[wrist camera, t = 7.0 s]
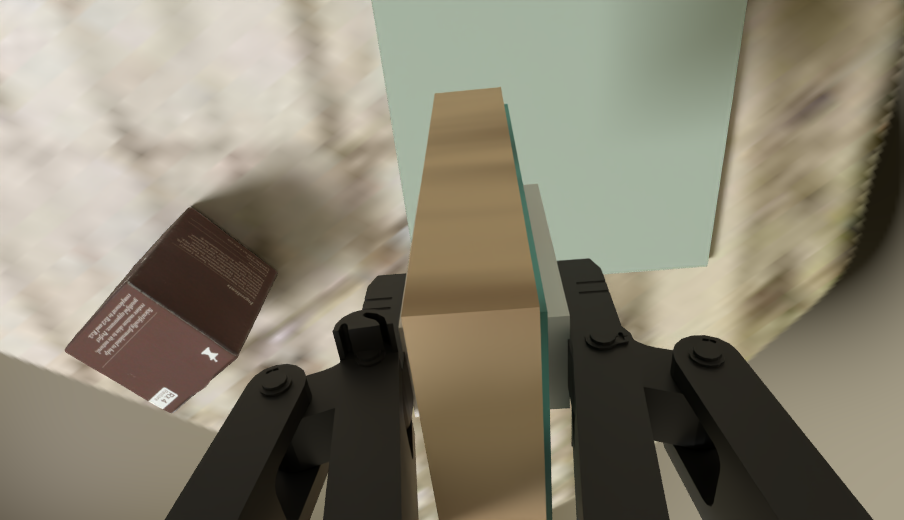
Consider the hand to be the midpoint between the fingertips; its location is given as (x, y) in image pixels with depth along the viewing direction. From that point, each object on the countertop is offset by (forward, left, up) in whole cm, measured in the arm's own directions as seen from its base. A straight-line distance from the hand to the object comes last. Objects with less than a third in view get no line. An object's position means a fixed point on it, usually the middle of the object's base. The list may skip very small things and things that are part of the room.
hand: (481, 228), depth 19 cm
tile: (0, 0, -1) cm, 1 cm away
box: (+8, -16, -12) cm, 22 cm away
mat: (0, +4, -12) cm, 12 cm away
